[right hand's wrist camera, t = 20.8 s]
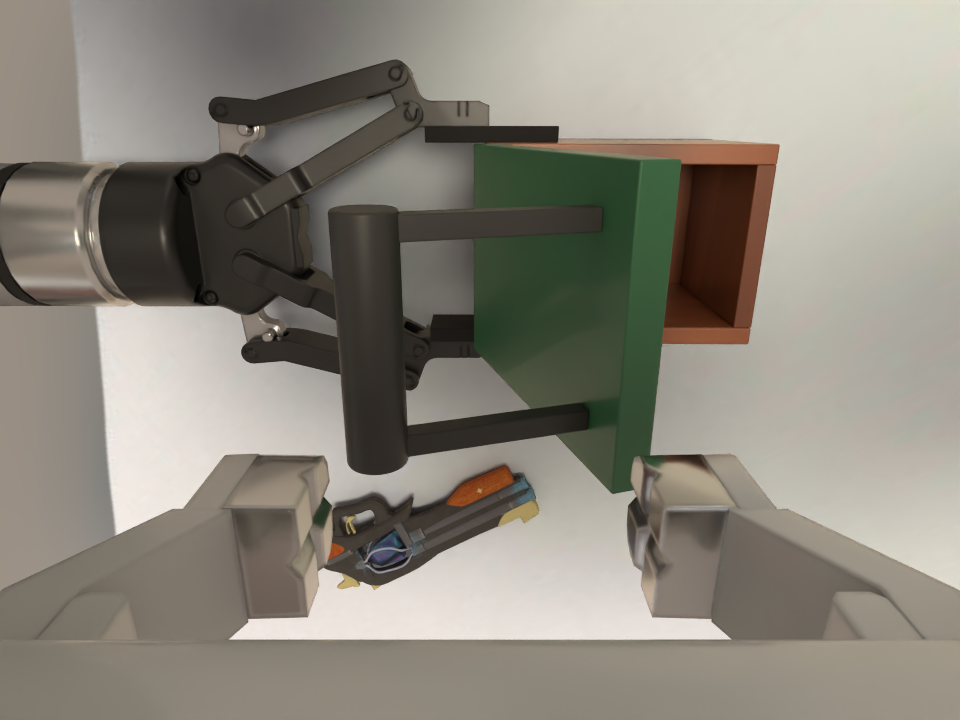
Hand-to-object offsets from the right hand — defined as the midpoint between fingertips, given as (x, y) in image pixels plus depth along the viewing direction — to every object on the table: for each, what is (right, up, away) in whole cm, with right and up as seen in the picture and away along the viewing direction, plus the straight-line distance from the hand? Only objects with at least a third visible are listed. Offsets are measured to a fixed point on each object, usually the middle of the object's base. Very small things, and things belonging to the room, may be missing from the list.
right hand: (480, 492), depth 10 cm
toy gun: (-6, -8, +37) cm, 38 cm away
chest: (+7, +11, +30) cm, 33 cm away
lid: (+3, +5, +14) cm, 15 cm away
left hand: (+4, +9, +24) cm, 26 cm away
